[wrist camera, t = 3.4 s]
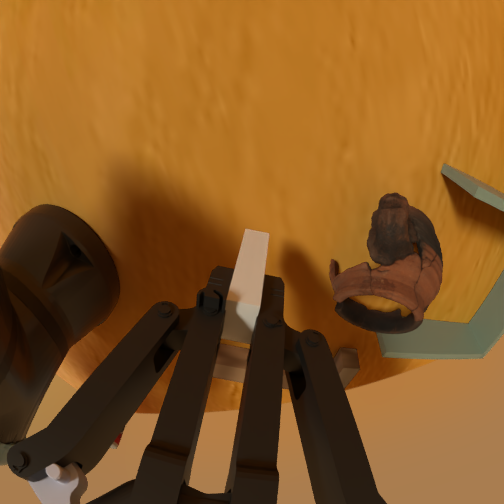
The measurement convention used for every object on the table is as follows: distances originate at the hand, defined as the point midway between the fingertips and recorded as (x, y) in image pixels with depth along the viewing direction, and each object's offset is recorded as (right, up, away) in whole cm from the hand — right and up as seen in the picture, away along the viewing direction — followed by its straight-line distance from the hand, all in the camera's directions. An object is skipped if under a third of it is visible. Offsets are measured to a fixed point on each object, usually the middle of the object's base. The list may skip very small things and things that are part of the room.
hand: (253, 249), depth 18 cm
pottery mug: (+11, +1, +4) cm, 11 cm away
